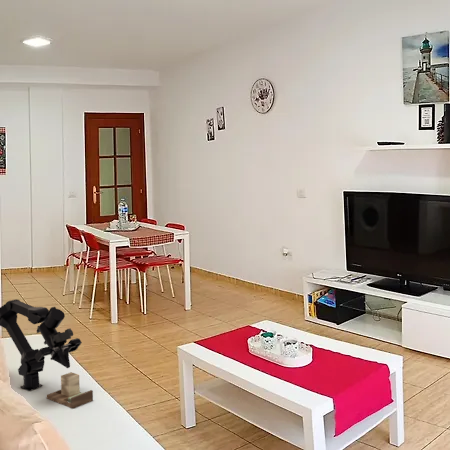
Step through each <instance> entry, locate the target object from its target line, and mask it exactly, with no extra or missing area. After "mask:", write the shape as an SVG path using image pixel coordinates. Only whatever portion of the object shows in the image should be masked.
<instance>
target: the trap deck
mask: <svg viewBox="0 0 450 450" xmlns="http://www.w3.org/2000/svg"><path fill="white" fill-rule="evenodd" d="M93 393H94V391H93V390H92V389H91V390H88V391H85V392H80V393H78V394H76V395H73V396H70V397H68V396H66V395H63V394H61V389H59V390H56V391H53V392H51V393H48V394H46V399H48V400H49V401H53V402H55V403H58V404H60V405H63V406H65V407H68V408H70V409H77V408H78V407H80V406H83V405H86V404H88V403H90V402H93V401H94V394H93Z"/></svg>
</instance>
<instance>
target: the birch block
mask: <svg viewBox="0 0 450 450" xmlns="http://www.w3.org/2000/svg"><path fill="white" fill-rule="evenodd" d="M60 384H61V385H60V390H61V394H63V395H66V396H68V397H70V396H73V395H76V394H78V393H80V389H81V388H80V374H79V373H75V372H71V371H70V372H68V373H65V374H61V375H60Z"/></svg>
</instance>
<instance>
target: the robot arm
mask: <svg viewBox="0 0 450 450" xmlns="http://www.w3.org/2000/svg"><path fill="white" fill-rule="evenodd" d="M18 314H19V315H21V316H24V317H25V318H27V321H28V322H29V323H31V324H32V325H38V324H40V325H38V326H37V329H36V334H39V333H40V335H41V336H42V338H43V340H44V341H43V344H44V345H47V346H45V347H42V348H39V349H38V348H35V349H34V348H33V347H32V346H31V345H30V342H29V341H28V339H27V337H26V335H25V334H24V332H23V331H22V329H21V327H20V325H19V324H18ZM64 319H65V313H64V311H63V310H61V309H59V308H57V307H56V306H52V307H50V308H49V309H48V308H47V307H43V306H32V305H30V304H28V303H25V302H23V301H20V299H12V300H11V299H10V300H8V301H6V302H5V304H3V305H2V306H0V327H1V328H4V329H5V330H6V331H7V333H8V335H9V336H10V339H11V340H12V341H13V343H14V345H15V347H16V349H17V350H18V352H19V354H20V355H21V356H20V357H21V358H20V366H19V368H18V369H17V371H18V375H20V376H22V377H23V385H20V388H21V389H24V390H26V391H34V390H35V389H39V388H42V387H43V384H40V375H39V373H40V372H43V371H44V367H45V358H46V356H50V361H54V362H57V363H58V364H60V365H61V366H63V367H65V368H66V369H70V367H71V363H70V356H69V355H70V353H71V352H76V351H77V350H78V348H79V347H80V346H81V344H82V340H81V339H80V338H78V337H76V338H72V337H73V336H74V331H73V330H72V329H71V328H66V329H64V331H62V332H61V331H58V330H57V329H58V327H59V326H60V325H61V323H62V322H63V320H64ZM68 340H69V341H68ZM67 342H68V343H67Z"/></svg>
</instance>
